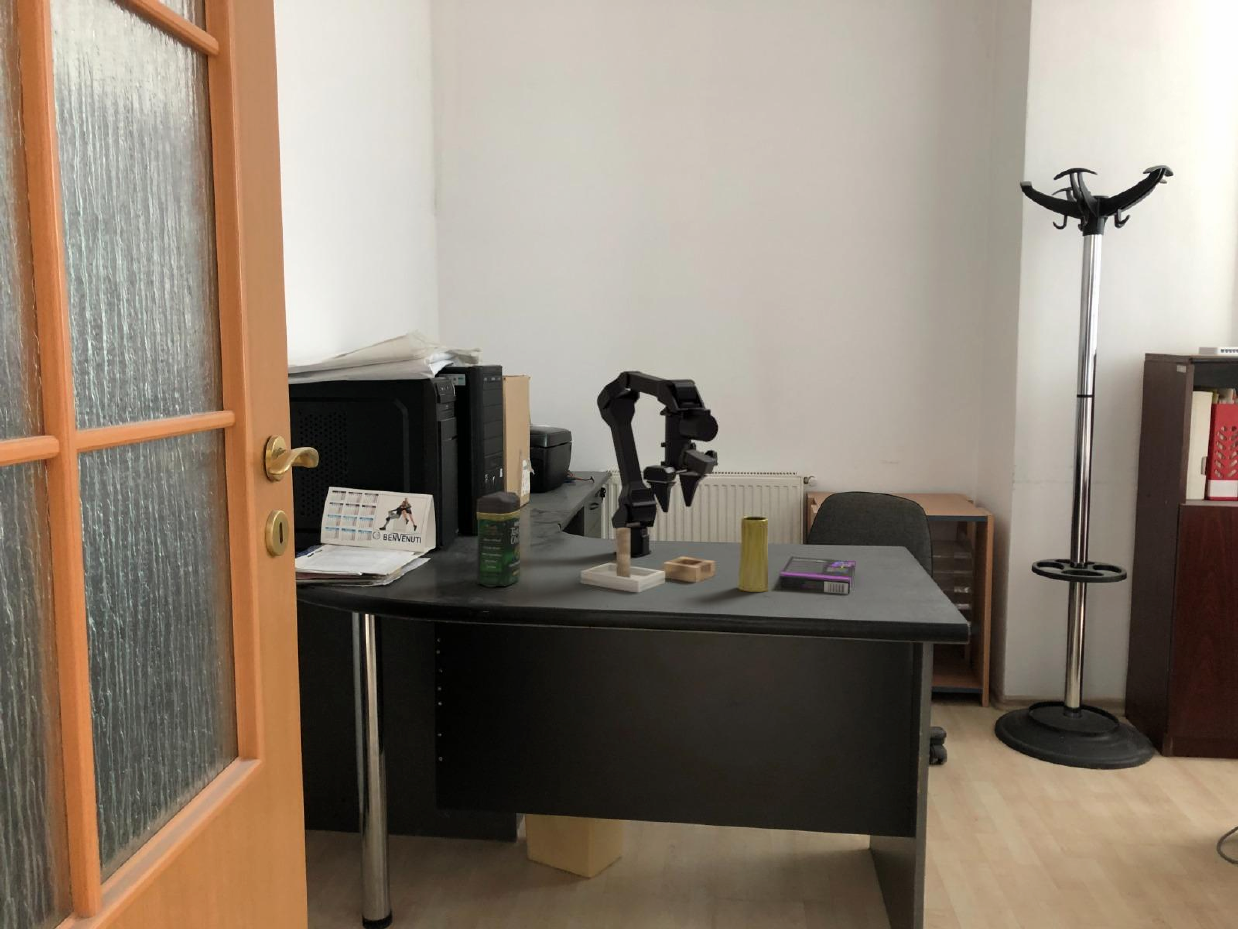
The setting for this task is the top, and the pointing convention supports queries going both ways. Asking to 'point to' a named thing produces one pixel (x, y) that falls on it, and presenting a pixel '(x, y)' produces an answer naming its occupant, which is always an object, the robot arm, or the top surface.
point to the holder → (689, 569)
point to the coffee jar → (498, 539)
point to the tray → (623, 578)
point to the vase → (754, 554)
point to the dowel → (623, 552)
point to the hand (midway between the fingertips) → (677, 509)
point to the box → (818, 575)
